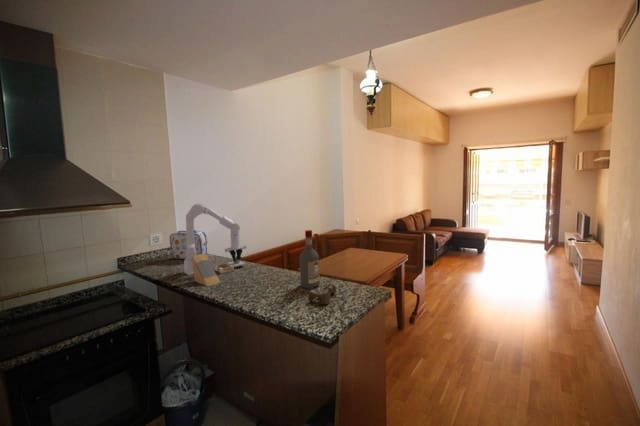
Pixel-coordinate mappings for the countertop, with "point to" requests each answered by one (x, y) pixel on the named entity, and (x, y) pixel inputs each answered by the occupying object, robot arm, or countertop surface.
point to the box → (224, 268)
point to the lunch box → (180, 243)
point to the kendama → (322, 294)
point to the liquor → (309, 264)
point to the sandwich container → (204, 270)
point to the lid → (237, 263)
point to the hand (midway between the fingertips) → (236, 260)
